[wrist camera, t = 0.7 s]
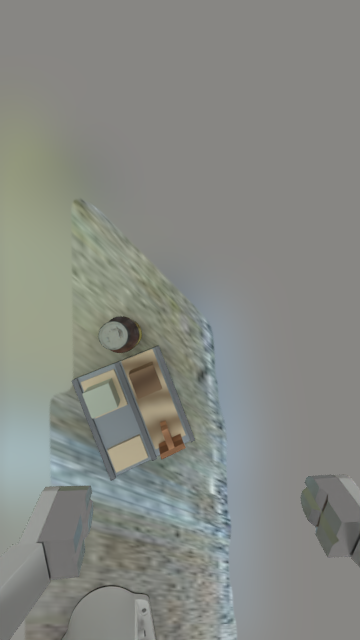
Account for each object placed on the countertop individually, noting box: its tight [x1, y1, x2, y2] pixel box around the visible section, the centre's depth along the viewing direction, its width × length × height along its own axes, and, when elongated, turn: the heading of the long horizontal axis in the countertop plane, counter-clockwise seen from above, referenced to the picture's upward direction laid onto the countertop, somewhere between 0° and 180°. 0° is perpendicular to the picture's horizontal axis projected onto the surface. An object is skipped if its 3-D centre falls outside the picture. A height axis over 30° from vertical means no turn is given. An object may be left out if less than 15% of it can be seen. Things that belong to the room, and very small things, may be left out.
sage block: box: [82, 378, 120, 419], centre depth 47 cm, size 5×5×5 cm
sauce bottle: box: [99, 316, 142, 353], centre depth 43 cm, size 7×6×20 cm
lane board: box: [72, 346, 195, 480], centre depth 51 cm, size 22×19×2 cm
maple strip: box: [121, 349, 186, 459], centre depth 49 cm, size 20×7×5 cm, turn 21°
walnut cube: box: [129, 362, 162, 399], centre depth 48 cm, size 5×5×5 cm
